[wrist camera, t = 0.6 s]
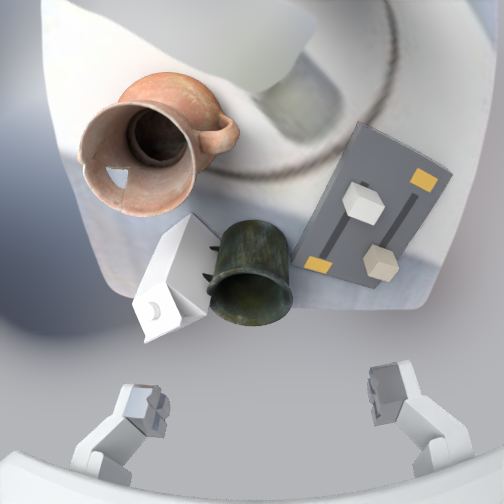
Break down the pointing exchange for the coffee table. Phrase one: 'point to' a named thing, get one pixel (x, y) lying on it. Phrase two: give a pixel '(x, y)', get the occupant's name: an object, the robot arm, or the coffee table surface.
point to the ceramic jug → (155, 143)
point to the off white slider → (363, 203)
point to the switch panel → (391, 194)
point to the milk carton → (177, 279)
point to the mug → (250, 275)
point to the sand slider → (380, 263)
